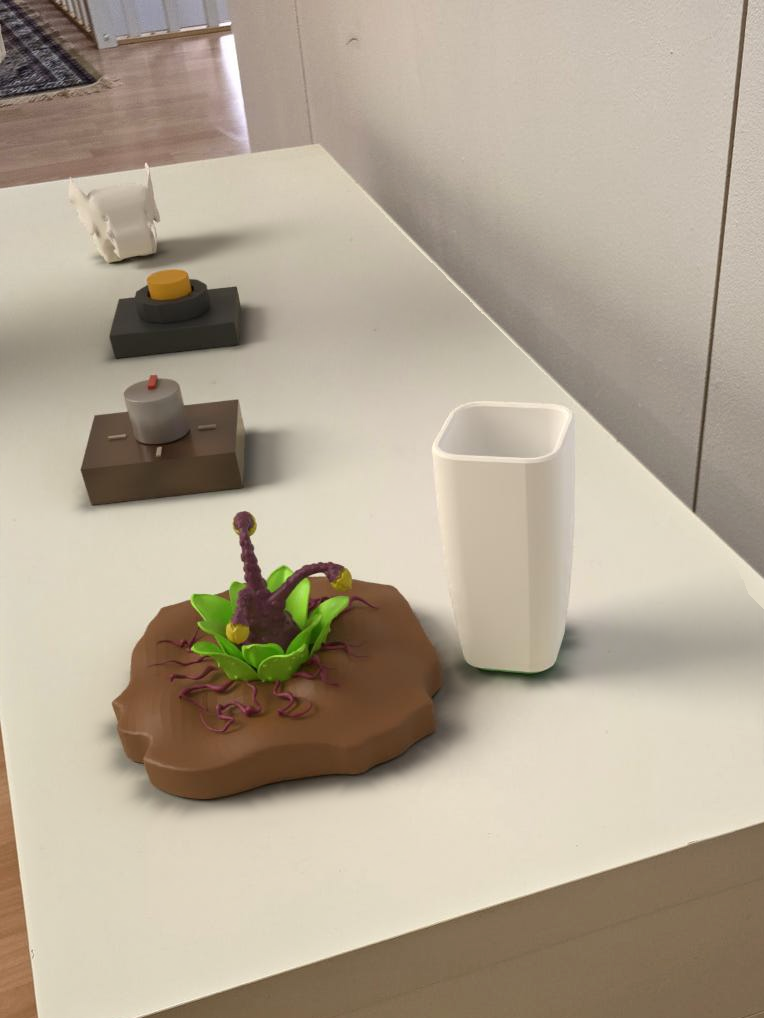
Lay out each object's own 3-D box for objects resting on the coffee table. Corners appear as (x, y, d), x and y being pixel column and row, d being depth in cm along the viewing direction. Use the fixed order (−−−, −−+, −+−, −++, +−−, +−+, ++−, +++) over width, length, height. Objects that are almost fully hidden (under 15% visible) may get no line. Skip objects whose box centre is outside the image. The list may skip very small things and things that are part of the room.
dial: (187, 441, 96) (175, 394, 94) (131, 447, 96) (118, 400, 94) (192, 418, 100) (181, 371, 97) (138, 423, 99) (126, 377, 97)
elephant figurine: (101, 281, 134) (78, 193, 128) (79, 251, 142) (56, 167, 136) (185, 263, 137) (166, 176, 130) (159, 235, 145) (139, 151, 138)
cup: (581, 624, 80) (579, 403, 70) (561, 690, 75) (556, 462, 64) (473, 616, 81) (456, 399, 71) (446, 680, 76) (424, 456, 66)
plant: (417, 586, 84) (400, 431, 77) (463, 761, 70) (447, 593, 63) (127, 628, 83) (80, 474, 75) (114, 816, 69) (54, 650, 61)
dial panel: (91, 505, 96) (79, 467, 94) (104, 449, 103) (93, 413, 101) (243, 487, 97) (235, 450, 94) (245, 433, 104) (238, 397, 102)
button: (149, 304, 118) (144, 285, 116) (152, 290, 120) (148, 271, 119) (190, 300, 118) (186, 281, 117) (193, 285, 121) (189, 267, 119)
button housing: (115, 358, 118) (103, 316, 115) (124, 320, 125) (113, 280, 122) (239, 345, 118) (230, 302, 116) (241, 308, 125) (233, 267, 123)
